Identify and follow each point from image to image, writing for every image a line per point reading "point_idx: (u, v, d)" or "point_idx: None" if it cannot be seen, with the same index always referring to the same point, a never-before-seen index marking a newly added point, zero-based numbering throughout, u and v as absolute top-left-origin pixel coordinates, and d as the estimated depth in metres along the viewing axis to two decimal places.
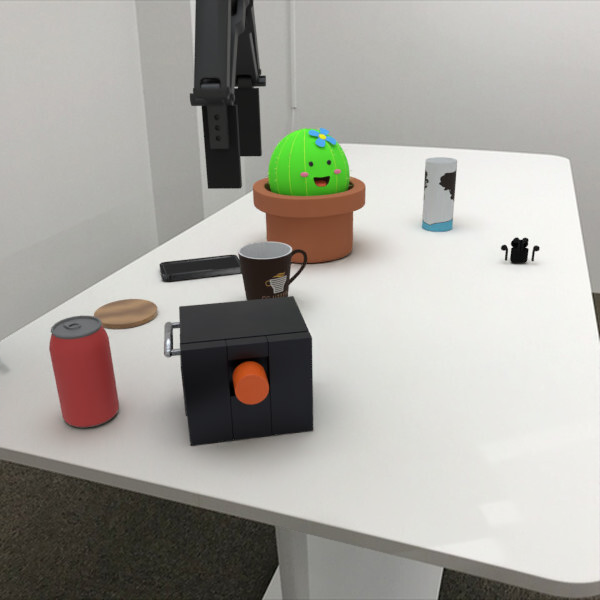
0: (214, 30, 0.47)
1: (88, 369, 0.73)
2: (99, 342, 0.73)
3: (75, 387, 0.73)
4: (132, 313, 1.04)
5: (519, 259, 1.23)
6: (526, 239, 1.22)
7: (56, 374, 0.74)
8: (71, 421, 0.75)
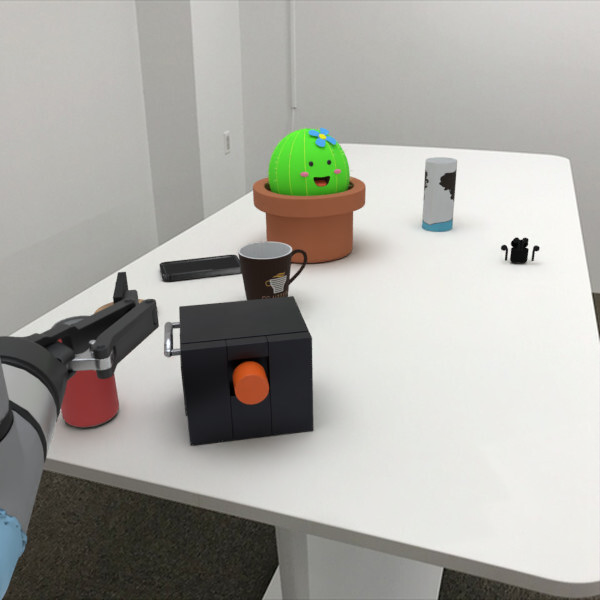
0: None
1: None
2: None
3: (75, 387, 0.73)
4: None
5: (519, 259, 1.23)
6: (526, 239, 1.22)
7: None
8: (71, 421, 0.75)
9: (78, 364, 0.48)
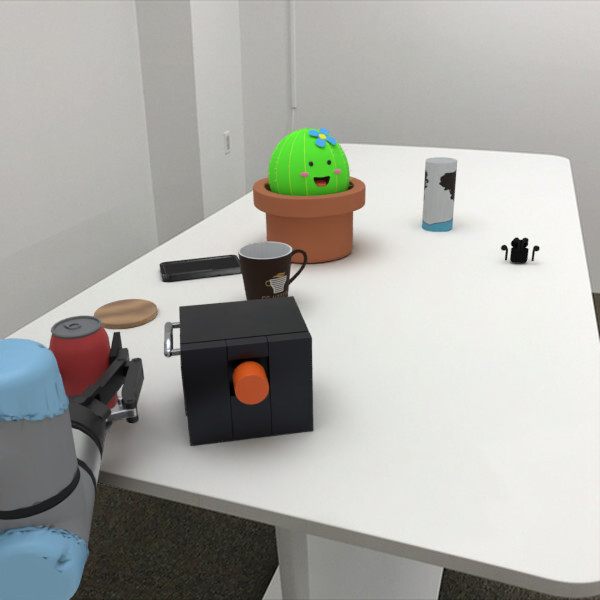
0: None
1: (88, 369, 0.73)
2: (99, 342, 0.73)
3: (75, 387, 0.73)
4: (132, 313, 1.04)
5: (519, 259, 1.23)
6: (526, 239, 1.22)
7: None
8: None
9: (115, 416, 0.65)
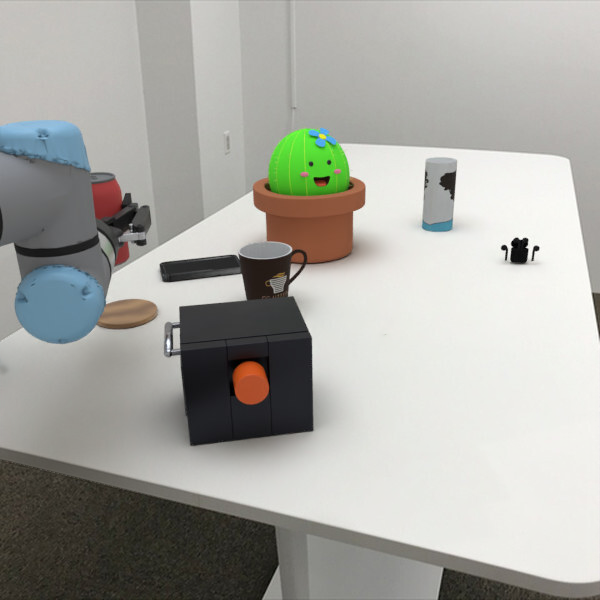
0: None
1: (104, 212, 0.85)
2: (113, 190, 0.85)
3: None
4: (132, 313, 1.04)
5: (519, 259, 1.23)
6: (526, 239, 1.22)
7: None
8: None
9: (127, 237, 0.77)
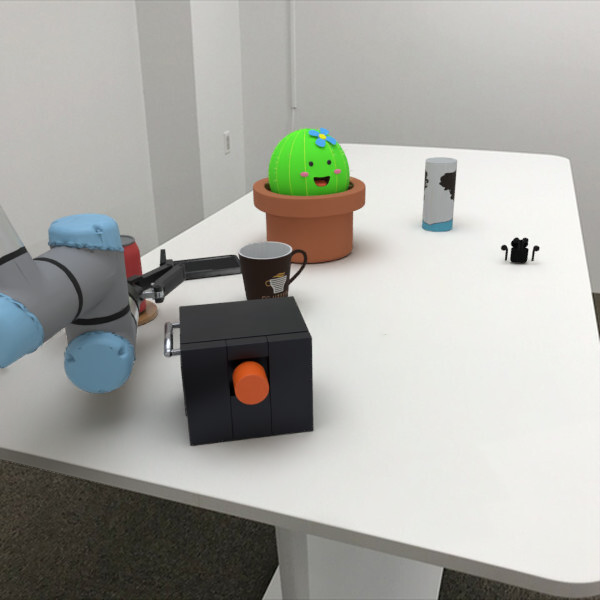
0: None
1: (126, 271, 0.99)
2: (133, 252, 0.99)
3: None
4: None
5: (519, 259, 1.23)
6: (526, 239, 1.22)
7: None
8: None
9: (145, 295, 0.91)
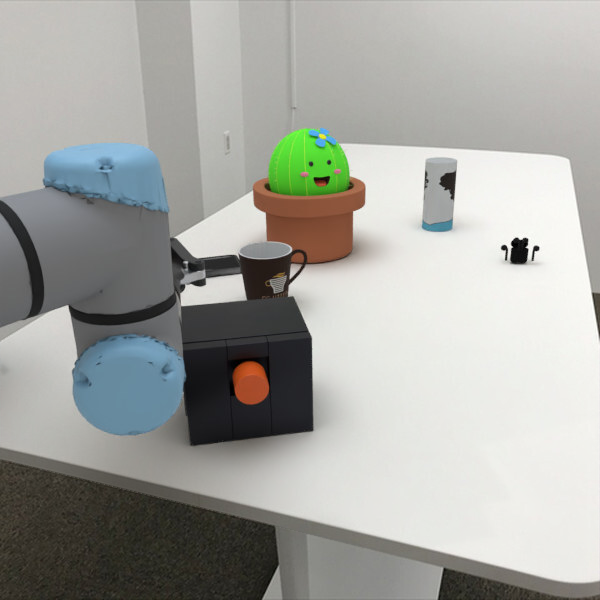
0: None
1: None
2: None
3: None
4: None
5: (519, 259, 1.23)
6: (526, 239, 1.22)
7: None
8: None
9: (188, 278, 0.64)
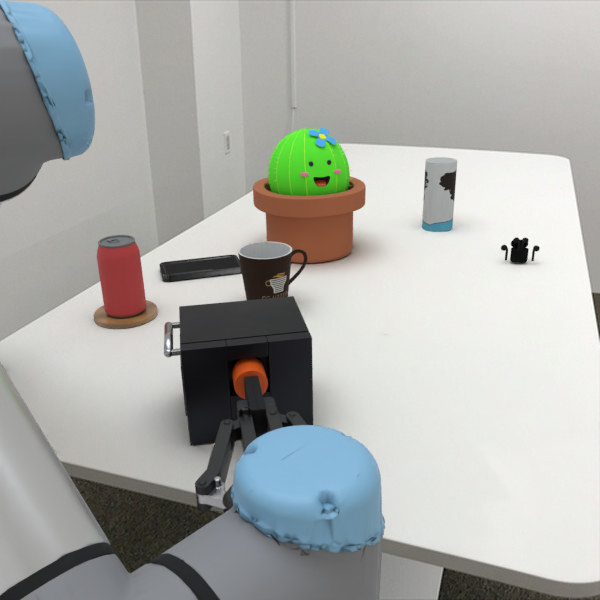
0: None
1: (126, 271, 0.99)
2: (133, 252, 0.99)
3: (115, 285, 1.00)
4: None
5: (519, 259, 1.23)
6: (526, 239, 1.22)
7: (101, 276, 1.00)
8: (112, 312, 1.02)
9: None
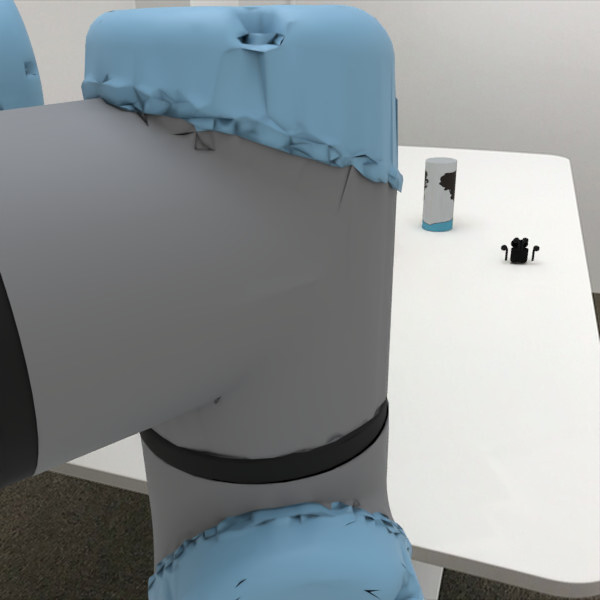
0: None
1: None
2: None
3: None
4: None
5: (519, 259, 1.23)
6: (526, 239, 1.22)
7: None
8: None
9: None
